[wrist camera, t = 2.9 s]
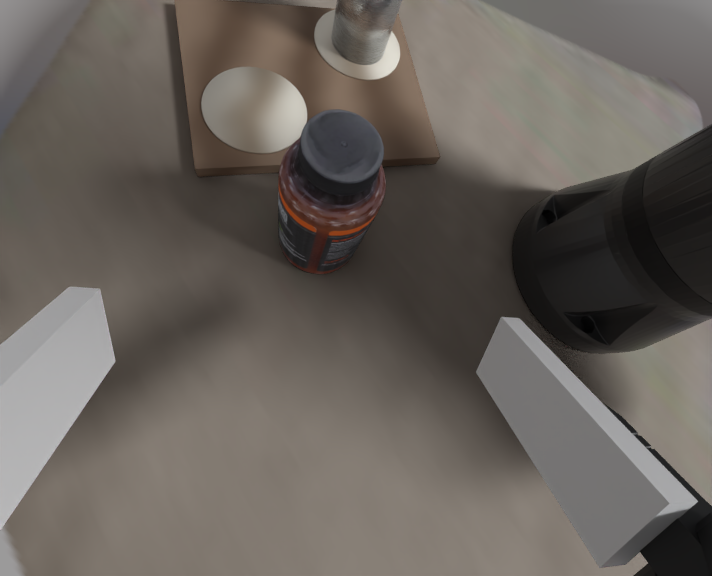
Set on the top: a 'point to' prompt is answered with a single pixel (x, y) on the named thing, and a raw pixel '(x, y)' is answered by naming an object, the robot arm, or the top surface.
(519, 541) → the top surface
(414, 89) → the board
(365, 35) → the pin
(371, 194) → the supplement bottle
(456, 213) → the top surface
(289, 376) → the top surface
